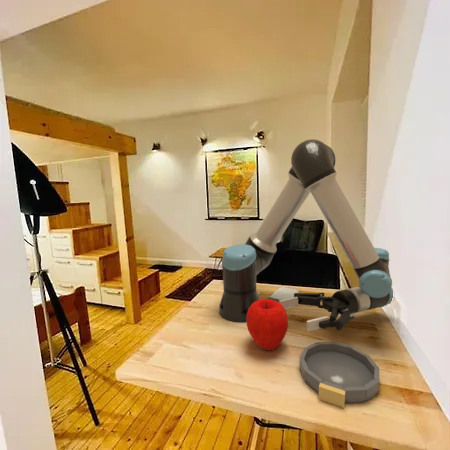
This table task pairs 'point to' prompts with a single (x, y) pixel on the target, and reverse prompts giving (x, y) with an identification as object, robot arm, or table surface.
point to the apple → (267, 323)
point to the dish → (339, 373)
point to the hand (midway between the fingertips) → (292, 314)
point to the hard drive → (283, 294)
